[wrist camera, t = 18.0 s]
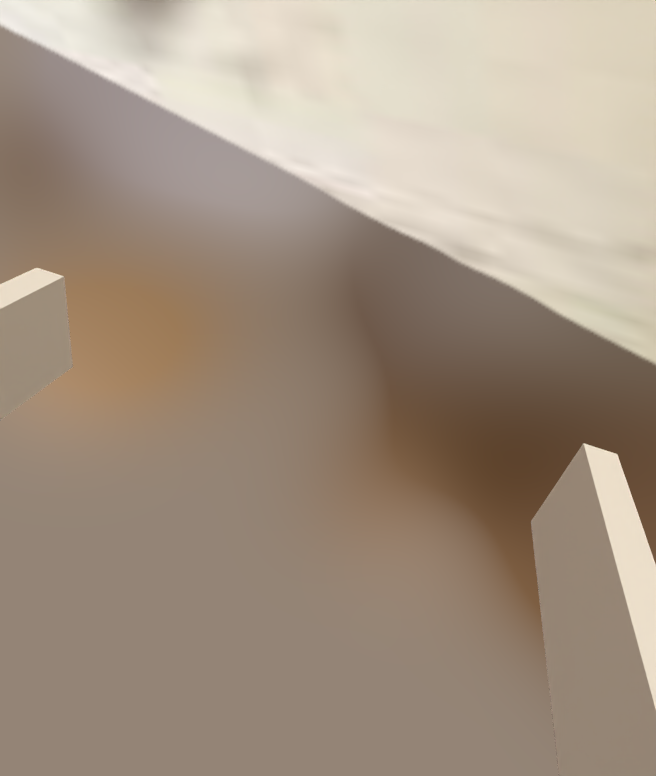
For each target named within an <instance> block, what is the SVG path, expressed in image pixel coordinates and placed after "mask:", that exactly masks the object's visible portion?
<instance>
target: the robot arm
mask: <svg viewBox="0 0 656 776" xmlns="http://www.w3.org/2000/svg"><path fill="white" fill-rule="evenodd" d="M72 367H73V364H72V354H71V343H70V333H69V322H68V312H67V302H66V291H65V282H64V276H61V275H58V274H54V273H52V272H48V271H45V270H42V269H39V268H35V269H33V270H31V271H28V272H26V273H24V274H22V275H20V276H17V277H15V278H13V279H11V280H9V281H7V282H4V283H2V284H0V420H1V419H3V418H4V417H5V416H7V415H8V414H10V413H11V412H12V411H14V410H15V409H16V408H18V407H19V406H20V405H22V404H23V403H25V402H26V401H27V400H29V399H30V398H31V397H33V396H34V395H35V394H37V393H38V392H39V391H41V390H42V389H43V388H45V387H46V386H47V385H49V384H50V383H51V382H53V381H54V380H56V379H57V378H58V377H60V376H61V375H62V374H64V373H65V372H66V371H68V370H69V369H70V368H72ZM531 526H532V535H533V545H534V554H535V563H536V571H537V581H538V590H539V599H540V608H541V617H542V627H543V636H544V645H545V654H546V662H547V672H548V680H549V690H550V699H551V709H552V717H553V726H554V736H555V744H556V754H557V763H558V771H559V776H656V564H655V561H654V559H653V555H652V553H651V550H650V547H649V544H648V541H647V539H646V535H645V533H644V530H643V527H642V524H641V521H640V518H639V515H638V513H637V510H636V507H635V504H634V501H633V498H632V496H631V493H630V490H629V487H628V484H627V481H626V478H625V476H624V473H623V470H622V467H621V464H620V461H619V458H618V455H617V454H615V453H612V452H609V451H606V450H603V449H599V448H596V447H593V446H590V445H587V444H584V443H583V445H582V446H581V448H580V450H579V451H578V452H577V454H576V455H575V457H574V458H573V460H572V461H571V463H570V464H569V466H568V467H567V469H566V470H565V472H564V473H563V475H562V476H561V478H560V479H559V481H558V482H557V484H556V485H555V487H554V488H553V490H552V491H551V493H550V494H549V496H548V497H547V499H546V500H545V502H544V503H543V505H542V506H541V507H540V509H539V510H538V512H537V514H536V515H535V517H534V518H533V519H532V521H531Z"/></svg>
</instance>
